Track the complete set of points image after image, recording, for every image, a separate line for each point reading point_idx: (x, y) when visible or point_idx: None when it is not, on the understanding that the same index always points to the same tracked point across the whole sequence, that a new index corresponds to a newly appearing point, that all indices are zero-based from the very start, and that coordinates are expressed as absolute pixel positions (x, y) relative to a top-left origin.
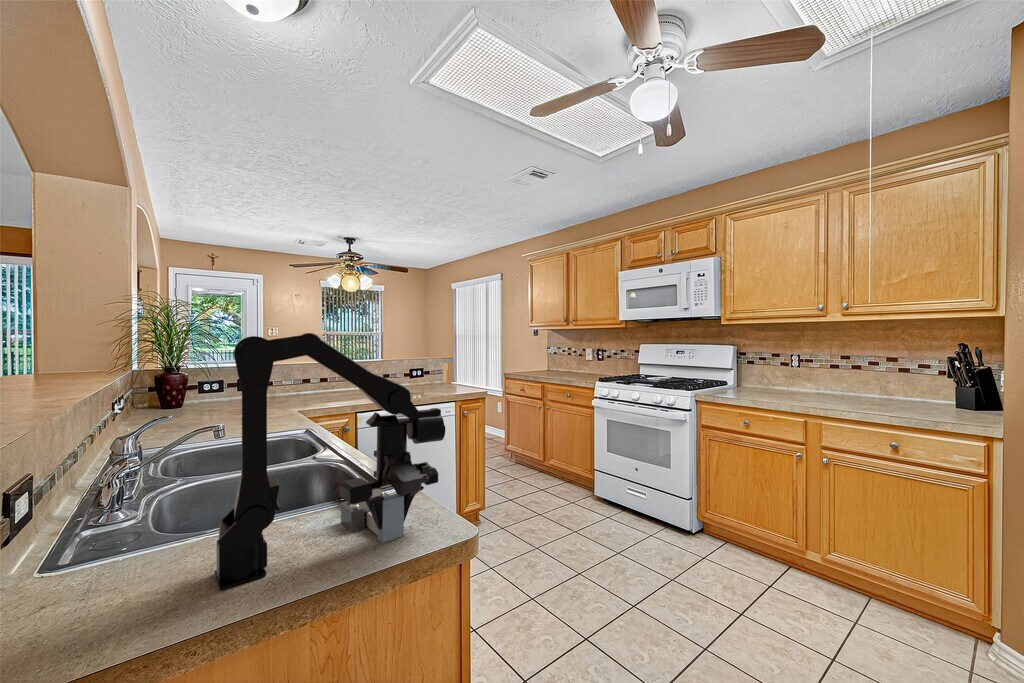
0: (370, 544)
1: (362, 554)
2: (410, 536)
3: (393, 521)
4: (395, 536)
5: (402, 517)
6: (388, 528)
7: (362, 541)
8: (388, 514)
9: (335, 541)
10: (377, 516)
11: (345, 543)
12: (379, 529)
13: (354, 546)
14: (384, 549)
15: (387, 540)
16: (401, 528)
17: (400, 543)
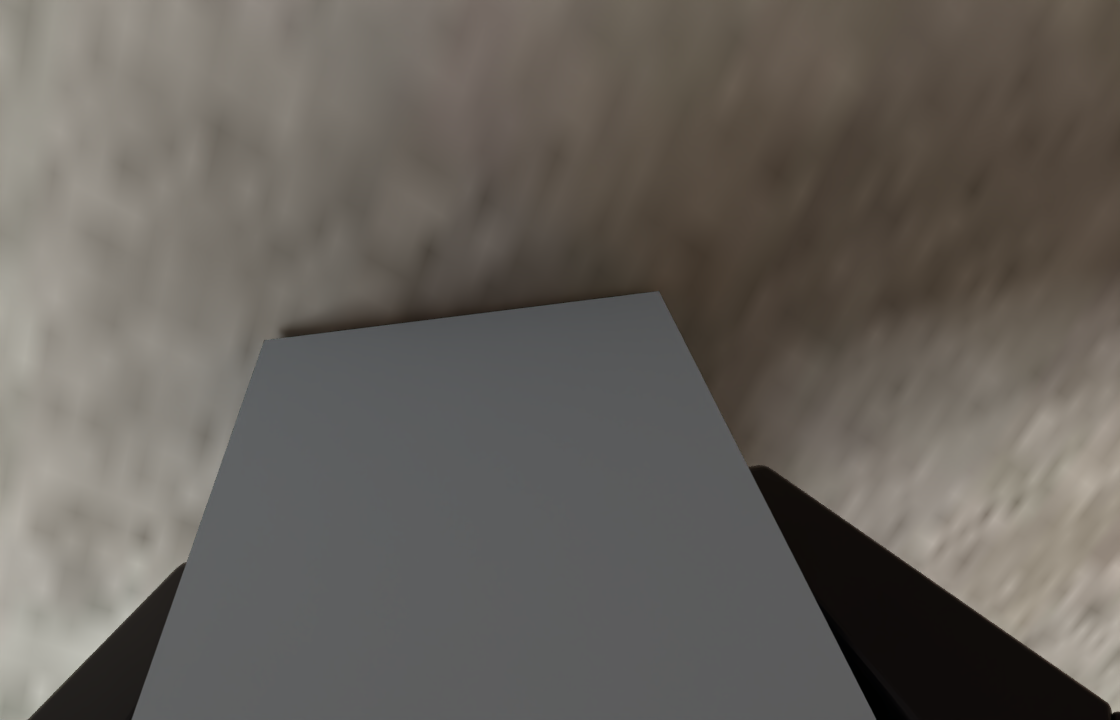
0: (809, 354)
1: (1069, 109)
2: (143, 289)
3: (482, 537)
4: (428, 338)
5: (212, 605)
6: (591, 437)
7: (843, 482)
8: (672, 709)
9: (1055, 606)
10: (1059, 678)
11: (1015, 523)
12: (765, 468)
13: (991, 405)
14: (725, 66)
15: (580, 306)
16: (287, 426)
17: (392, 127)
